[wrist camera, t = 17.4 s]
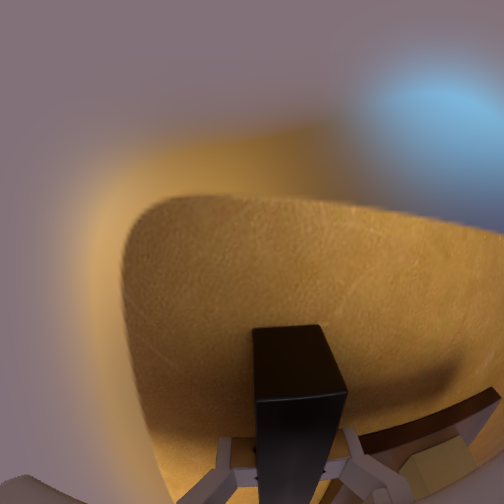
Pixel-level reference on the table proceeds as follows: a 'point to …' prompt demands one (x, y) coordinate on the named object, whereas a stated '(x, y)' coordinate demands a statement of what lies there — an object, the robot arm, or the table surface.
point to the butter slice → (438, 467)
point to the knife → (294, 410)
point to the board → (419, 439)
